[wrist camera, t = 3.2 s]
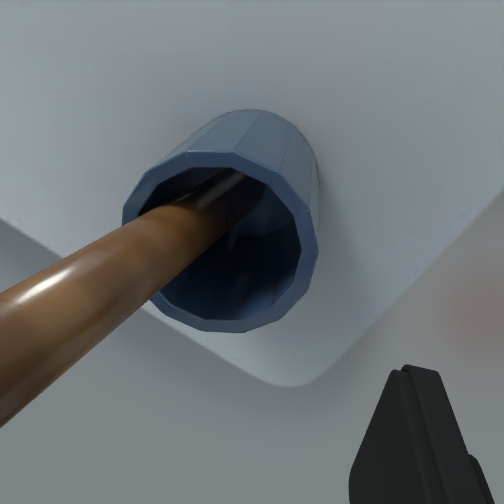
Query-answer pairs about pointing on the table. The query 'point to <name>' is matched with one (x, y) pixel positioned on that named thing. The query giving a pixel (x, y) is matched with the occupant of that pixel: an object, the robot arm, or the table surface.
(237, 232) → the holder
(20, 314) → the stick
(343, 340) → the table surface
